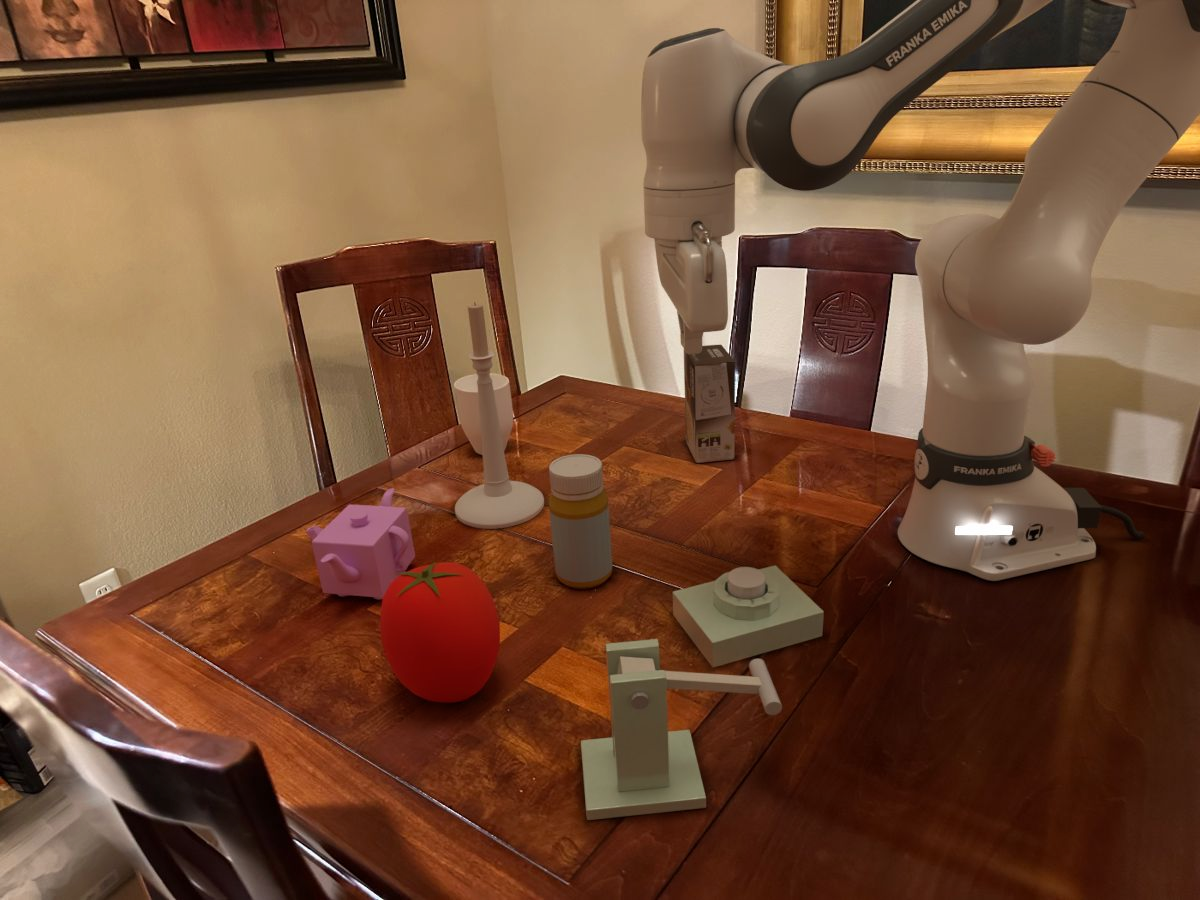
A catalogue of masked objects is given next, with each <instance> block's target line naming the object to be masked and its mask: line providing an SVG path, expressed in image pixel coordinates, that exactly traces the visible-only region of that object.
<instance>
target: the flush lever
mask: <svg viewBox="0 0 1200 900" xmlns="http://www.w3.org/2000/svg"><path fill="white" fill-rule="evenodd" d="M748 670H749V671H750V675H751V676H749V675H737V674H736V675H734V674H719V673H704V672H690V671H675V670H664V671H665V674H666V686H667V689H669V690H671V689H672V690H686V691H687V690H688V691H703V692H715V693H716V692H718V693H730V694H731V693H733V694H748V695H758V696H759V698H760V702H761V704H762V707H763V710H764V712H765V713H766V714H767V715H768V716H777V715H778V714H780V713H781V711H782V710H783V704H782V702H781V700H780V697H779V694H778V691H777V689H776V687H775V685H774V683H773V680H772V677H771V674H770V672H769V669H768V666H767V665H766V662H765V660H763V659H762V658H753V659H752V660H750V661H749V664H748ZM646 671H656V670H655V666H654V661H653V659H651V658H636V657H622V656H620V659H619V664H618V670H617V674H626V673H636V672H646Z"/></svg>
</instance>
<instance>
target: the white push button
mask: <svg viewBox="0 0 1200 900" xmlns="http://www.w3.org/2000/svg"><path fill="white" fill-rule="evenodd" d="M728 572H729V574H728V576H727V590H728V593H729V594H730V595H731V596H733V597H735V598H738V599H746V600H753V599H756V598H760V597H762V596H763V595H764V594H765V580H766V578H765V575H764V573H763V572H761V571H760V570H759V569H758V568H755V567H751V566H739V567H736V568H733V569H731V570H730V571H728Z"/></svg>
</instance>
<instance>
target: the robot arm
mask: <svg viewBox="0 0 1200 900" xmlns="http://www.w3.org/2000/svg"><path fill="white" fill-rule="evenodd" d="M1087 1H1088V2H1090V3H1093V4H1097V5H1099V6H1104V7H1112V6H1113V7H1114V6H1118V7H1122V8H1126V10H1125V14H1124V18H1123V21H1122V24H1121V25H1122V26H1121V28H1120V30H1119V32H1118V35H1117V37H1116V38H1115V40H1114V42H1113V44H1112V46H1111V47H1110V49H1109V50H1108V51H1107V52H1106V53H1105V54H1104V55H1103V57H1102V58H1100V60H1099V61H1098V62H1097V63H1096V64H1095V66H1093V68H1092V69H1091V70H1090V71H1089V72H1088V73H1087V74H1086V76H1085V77H1084V79H1083V80H1082V81H1080V83H1079V84H1078V86H1077V87H1076V88H1075V89H1074V91H1073V92H1072V93H1071V95H1070V96H1069V97H1068V98H1067V100H1066V101H1065V102H1064V103H1063V104H1062V106H1061V107H1060V108H1059V110H1058V111H1057V112H1056V113H1055V114H1054V116H1053V117H1052V118H1051V120H1050V121H1049V122H1048V124H1047V125H1046V126H1045V127H1044V128H1043V130H1042V131H1041V132H1040V134H1039V135H1038V136H1037V138H1036V139H1035V140H1034V141H1033V143H1032V144H1031V145H1030V146H1029V148H1028V149H1027V151H1026V154H1025V156H1024V171H1023V175H1022V178H1021V180H1020V182H1019V185H1018V187H1017V189H1016V192H1015V193H1014V195H1013V198H1012V199H1011V201H1010V204H1009V205H1008V207H1007V209H1006V210H1005V212H1004V213H1003V215H1002V216H1001V217H1000V218H998V217H995V216H993V215H989V214H985V213H984V214H983V213H968V214H967V213H966V214H959V215H953V216H948V217H946V218H944V219H941V220H939V221H938V222H937V223H935V224H934V225H932V226H930V228H929V229H928V230H927V231H926V232H925V234H923V236H922V238H921V239H920V241H919V243H918V245H917V248H916V251H915V257H914V267H915V271H916V274H917V277H918V280H919V285H920V290H921V297H922V298H921V299H922V309H923V310H922V311H923V323H924V324H923V325H924V334H925V335H924V336H925V345H926V357H927V381H926V390H925V391H926V392H925V402H924V411H923V420H922V427H921V429H920V430H919V431H918V435H917V442H916V447H915V453H914V454H915V455H914V473H913V475H914V482H913V486H912V490H911V494H910V498H909V500H908V505H907V507H906V510H905V513H904V515H903V517H902V519H901V522H900V524H899V525H898V528H897V538H898V541H900V543H901V544H902V546H903V547H905V549H906V550H908V551H909V552H910V553H912V554H913V555H915V556H917V557H919V558H920V559H922V560H925V561H927V562H929V563H932V564H935V565H938V566H942V567H946V568H950V569H954V570H959V571H963V572H967V573H969V574H971V575H973V576H975V577H978V578H980V579H983V580H986V581H991V582H998V581H1002V580H1007V579H1012V578H1015V577H1020V576H1024V575H1029V574H1033V573H1037V572H1041V571H1046V570H1050V569H1054V568H1059V567H1063V566H1064V567H1065V566H1067V565H1068V566H1069V565H1073V564H1078V563H1080V562H1085V561H1089V560H1090V561H1091V560H1093V559H1095V558H1096V555H1097V544H1096V542H1095V540H1094V539H1093V537H1092V535H1091V534H1090V533H1089V532H1088V531H1087V530H1086V529H1098V527H1099V522H1100V517H1101V513H1102V514H1107V515H1111V516H1114V517H1115V518H1118V519H1120V520H1121V521H1122V522H1123V524H1124V526H1125V530H1126V531H1127V533H1128V534H1129V536H1131V537H1132V538H1133V539H1137V540H1138V539H1144V538H1145V533H1144V531H1142V530H1141V531H1138V530H1136V528H1135V526H1134V522H1133V520H1132V518H1131V517H1130V516H1129V515H1127V514H1126V513H1125V512H1123V511H1121V510H1119V509H1117V508H1114V507H1111V506H1107V505H1103V504H1099V503H1098V502H1097V500H1096V499H1095V498H1094V497H1093V496H1092V495H1091V494H1090V493H1089V492H1088V491H1087V489H1086V488H1085V487H1062V486H1061V485H1060V484H1059V483H1057V482H1056V481H1055V480H1053V479H1052V478H1051V477H1050V476H1049V475H1047V474H1046V473H1045V472H1043V471H1042V470H1041V469H1039V468H1038V467H1037V466H1035V465H1034V464H1035V463H1034V461H1036V462H1037V464H1039V465H1040V467H1041V466H1042V467H1049V466H1051V465H1052V463H1055V460H1056V453H1055V452H1054V451H1053V450H1052V449H1050V448H1048V447H1047V446H1046V445H1045V444H1038V445H1036V442H1035V441H1034V440H1033V439H1032V438H1030V437H1029V436H1027V435H1025V434H1026V427H1027V421H1028V415H1029V410H1030V403H1031V398H1032V397H1031V396H1032V391H1033V386H1034V385H1033V382H1034V381H1033V372H1032V370H1031V369H1032V368H1031V366H1030V364H1029V362H1028V361H1029V360H1028V358H1027V354H1026V350H1025V346H1024V345H1029V346H1031V345H1032V346H1036V345H1043V344H1047V343H1050V342H1054V341H1056V340H1058V339H1060V338H1062V337H1063V336H1065V335H1066V334H1068V333H1069V332H1070V331H1072V330H1073V329H1074V328H1075V327H1076V326H1077V325H1078V323H1079V322H1080V321H1081V320H1082V318H1083V317H1084V316H1085V314H1086V312H1087V310H1088V308H1089V305H1090V303H1091V298H1092V293H1093V281H1092V272H1093V271H1092V270H1093V266H1094V264H1095V261H1096V258H1097V255H1098V253H1099V251H1100V249H1101V247H1102V245H1103V242H1104V241H1105V238H1106V236H1107V234H1108V233H1109V231H1110V229H1111V227H1112V225H1113V223H1114V222H1115V220H1116V219H1117V217H1118V215H1119V214H1120V212H1121V211H1122V210H1123V208H1124V207H1125V205H1126V204H1127V203H1128V201H1129V200H1130V199H1131V197H1132V196H1133V195H1134V194H1135V193H1136V192H1137V190H1138V189H1139V188H1140V187H1141V186H1142V184H1143V183H1144V182H1145V181H1146V179H1147V178H1148V177H1149V176H1150V175H1151V173H1153V171H1154V170H1155V169H1156V168H1157V166H1158V165H1159V164H1160V163H1161V162H1162V160H1164V158H1165V157H1166V156H1167V154H1168V153H1169V152H1170V151H1171V150H1172V149H1173V147H1174V146H1175V145H1176V144H1177V143H1178V141H1180V139H1181V138H1182V137H1183V135H1185V133H1186V132H1187V131H1188V130H1189V128H1190V127H1191V126H1192V124H1193V123H1194V122H1195V121H1196V120H1197V118H1198V116H1200V0H1087ZM1051 2H1053V0H915V1H914V2H913V3H912V4H910V5H909V6H907V7H906V8H905V9H904V10H903V11H901V12H900V13H898V14H897V15H896V16H894V17H893V18H892V19H891V20H889V21H888V22H887V23H886V24H884V25H883V26H882V27H880V28H879V29H878V30H876V32H874V33H873V34H872V35H870V36H869V37H868V38H866V39H865V40H864V41H862V42H861V43H860V44H859V45H857V46H856V47H854V48H853V49H852V50H850V51H848V52H846V53H843V54H842V55H839V56H836V57H833V58H829V59H823V60H818V61H812V62H808V63H802V64H788V63H785V62H784V61H781V60H777V59H776V58H775V59H774V58H772V57H769V56H767V55H765V54H762V53H760V52H758V51H756V50H754V49H752V48H750V47H749V46H746V45H745V44H743V43H742V42H740V41H739V40H737V39H736V38H734V37H733V36H732V35H731V34H730V33H729V32H728V31H727V29H724V28H720V27H710V28H705V29H702V30H697V31H693V32H689V33H685V34H682V35H678V36H675V37H672V38H669V39H665V40H663V41H661V42H660V43H658V44H657V45H656V46H655V47H654V48H653V49H652V50H650V53H648V55H647V56H646V60H645V61H644V65H643V71H642V79H641V80H642V81H641V97H640V105H641V106H640V124H641V125H640V126H641V127H640V129H641V143H642V144H643V147H644V152H645V156H646V157H645V158H646V168H645V173H644V177H643V182H642V184H643V185H642V186H643V207H644V208H643V211H644V212H643V213H644V234H645V236H646V237H648V238H651V239H654V240H653V241H654V249H655V257H656V266H657V273H658V276H659V277H658V278H659V281H660V285H661V288H663V290H664V292H665V293H666V295H667V297H668V298H669V300H670V302H671V303H672V305H673V306H674V308H675V309H676V314H677V319H678V320H677V321H678V326H679V330H680V331H679V333H680V335H679V336H680V338H679V339H680V345H681V347H682V349H683V351H684V350H685V352H686V353H687V354H699V353H701V352H702V346H703V336H704V333H712V332H721V331H725V329H726V328H727V324H728V321H729V320H728V319H729V299H728V297H729V296H728V273H727V271H728V270H727V262H726V261H727V260H726V255H725V251H724V249H723V237H725V236H729V235H731V234H733V233H734V232H735V229H736V174H737V173H738V172H739V171H740V170H744V169H754V170H756V171H758V172H760V173H763V174H765V175H767V176H768V177H769V178H770V179H771V180H772V181H773V182H775V183H777V184H778V185H779V186H780V185H781V186H782V187H784V188H787V189H790V190H794V191H801V192H809V191H816V190H821V189H825V188H827V187H830V186H833V185H834V184H837V183H838V182H840V181H841V180H843V179H844V178H845V177H846V176H848V175H849V174H850V173H852V171H853V170H854V169H855V168H856V167H857V166H858V164H859V163H860V162H861V161H862V159H863V158H864V157H865V156H866V154H867V152H868V151H869V150H870V148H871V147H872V145H873V144H874V142H875V141H876V139H877V138H878V136H879V135H880V134H881V132H882V131H883V130H884V128H885V127H886V126H887V125H888V124H889V123H890V121H891V120H892V119H893V118H894V117H895V116H896V115H897V114H898V113H899V112H901V111H902V110H903V109H904V108H905V107H907V106H908V105H909V104H910V103H912V102H913V101H914V100H916V99H917V98H918V97H920V96H921V95H922V94H924V93H925V92H926V91H928V89H930V88H931V87H932V86H933V85H935V84H937V82H938V81H940V80H941V79H943V78H944V77H945V76H946V75H948V74H949V73H950V72H951V71H953V70H954V69H956V67H958V66H959V65H960V64H962V63H963V62H965V60H967V59H969V57H971V56H972V55H974V53H976V52H977V51H978V50H979V49H980V48H982V47H983V46H984V45H985V44H987V43H988V42H990V41H991V40H992V39H994V38H996V37H997V36H999V35H1000V34H1002V33H1003V32H1005V31H1007V30H1010V29H1011V28H1012V27H1014V26H1017V24H1019V23H1021V22H1022V21H1024V20H1025V19H1027V18H1029V17H1030V16H1031V15H1034V14H1035V13H1036V12H1038V11H1040V10H1041V9H1042V8H1044V7H1045V6H1047V5H1049V4H1050V3H1051ZM1033 460H1034V461H1033Z"/></svg>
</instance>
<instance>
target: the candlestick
mask: <svg viewBox="0 0 1200 900" xmlns="http://www.w3.org/2000/svg"><path fill="white" fill-rule="evenodd" d="M467 313H468V320H469V327H470V338H471V343H472V352H471V353H469V354H468V355H467V358H469V359H470V360H471V361H472V369H473V370H475V371H476V373H475V374H478V380H477V385H478V398H479V412H480V426H481V439H482V453H483V455H482V468H483V481H484V483H481V484H479V485H477V486H475V487H473V488H471V489H469V490H468V491H466V492H465V493H463V495H462V496H460V497H459V498H458V499H457V501H456V503H455V505H454V514H455V517H456V518H457V520H458V521H459V522H461V523H462V524H463V525H466V526H469V527H471V528H476V529H485V530H486V529H487V530H488V529H489V530H495V529H504V528H509V527H515V526H518V525H521V524H524V523H527V522H528V521H531V520H532V519H533V518H535V517H536V516H538V515H539V514H540V513H541V512H542V510H543V509H544V506H545V497H544V495H543V493H542V491H541V490H540V489H538V488H536V487H535V486H533V485H531V484H529V483H526V482H523V481H517V480H510V474H509V472H508V471H509V470H508V465H507V460H506V454H505V450H504V448H503V442H502V437H501V431H500V425H499V419H498V413H497V408H496V402H495V396H494V390H493V385H492V379H491V378H490V373H491V369H492V367H493V361H492V359H493V357H494V356H495V355H496V352H494V351H491V350H489V345H488V336H487V327H486V320H485V319H486V318H485V309H484V304H482V303H476V301H474V303H473V304H469V305H467Z"/></svg>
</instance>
